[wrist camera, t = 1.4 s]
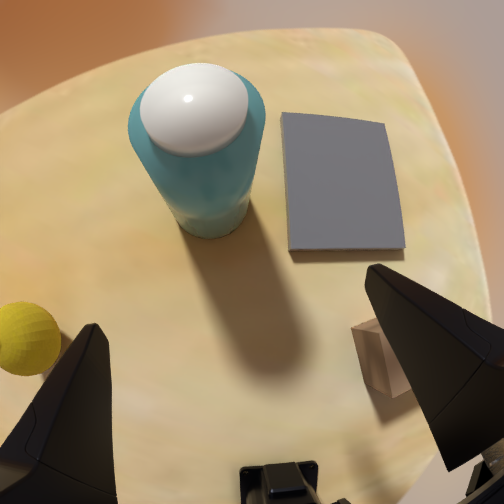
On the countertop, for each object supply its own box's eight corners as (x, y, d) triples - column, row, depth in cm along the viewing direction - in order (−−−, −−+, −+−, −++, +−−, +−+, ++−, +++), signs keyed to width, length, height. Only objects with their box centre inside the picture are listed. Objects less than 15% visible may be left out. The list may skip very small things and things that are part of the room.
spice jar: (248, 238, 23) (272, 164, 11) (171, 239, 23) (110, 169, 10) (247, 166, 24) (264, 52, 12) (174, 168, 24) (135, 57, 11)
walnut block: (411, 359, 23) (445, 368, 18) (363, 382, 22) (392, 398, 17) (400, 307, 24) (434, 307, 19) (350, 327, 23) (378, 333, 18)
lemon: (43, 290, 21) (-17, 282, 14) (87, 329, 21) (31, 338, 13) (20, 339, 21) (-38, 346, 13) (62, 379, 20) (7, 402, 12)
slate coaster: (399, 249, 24) (405, 247, 23) (288, 250, 23) (290, 248, 22) (380, 128, 26) (384, 123, 25) (280, 118, 25) (281, 112, 24)
